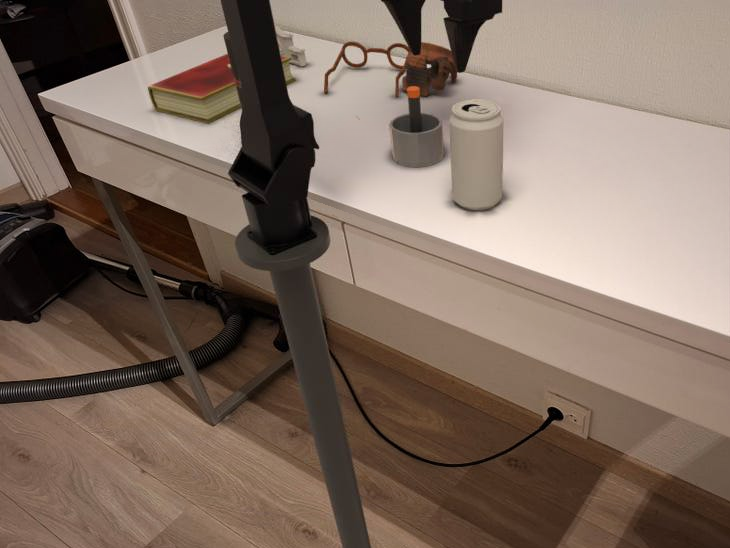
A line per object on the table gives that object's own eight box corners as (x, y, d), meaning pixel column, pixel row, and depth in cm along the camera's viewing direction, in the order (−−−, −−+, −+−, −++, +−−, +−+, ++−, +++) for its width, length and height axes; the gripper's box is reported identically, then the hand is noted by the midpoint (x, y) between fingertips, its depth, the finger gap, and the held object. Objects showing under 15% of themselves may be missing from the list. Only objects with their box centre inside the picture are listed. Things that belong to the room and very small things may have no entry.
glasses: (414, 71, 122) (412, 41, 119) (398, 97, 112) (395, 66, 109) (345, 68, 124) (341, 39, 120) (322, 94, 114) (317, 63, 111)
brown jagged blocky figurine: (389, 89, 117) (400, 39, 115) (436, 104, 122) (447, 57, 120) (420, 91, 107) (432, 37, 105) (469, 108, 113) (482, 56, 111)
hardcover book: (154, 110, 110) (145, 84, 107) (244, 70, 123) (238, 46, 121) (208, 123, 105) (200, 96, 102) (295, 80, 119) (290, 55, 116)
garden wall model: (308, 65, 125) (302, 31, 121) (300, 68, 124) (294, 33, 120) (269, 52, 131) (262, 19, 127) (261, 55, 130) (254, 22, 126)
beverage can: (474, 184, 89) (472, 93, 81) (512, 198, 86) (514, 105, 78) (442, 202, 86) (437, 109, 78) (481, 218, 82) (480, 123, 74)
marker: (417, 156, 95) (412, 91, 89) (409, 152, 96) (404, 88, 90) (426, 152, 95) (422, 88, 89) (419, 148, 96) (414, 85, 90)
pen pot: (413, 172, 92) (411, 138, 89) (383, 155, 96) (379, 122, 93) (453, 156, 96) (452, 123, 92) (422, 140, 100) (420, 108, 96)
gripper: (538, -77, 76) (532, 66, 86) (435, -95, 87) (441, 35, 97) (464, -64, 71) (467, 88, 81) (363, -85, 81) (377, 51, 91)
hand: (438, 63), depth 88 cm, fingers open, 9 cm apart
